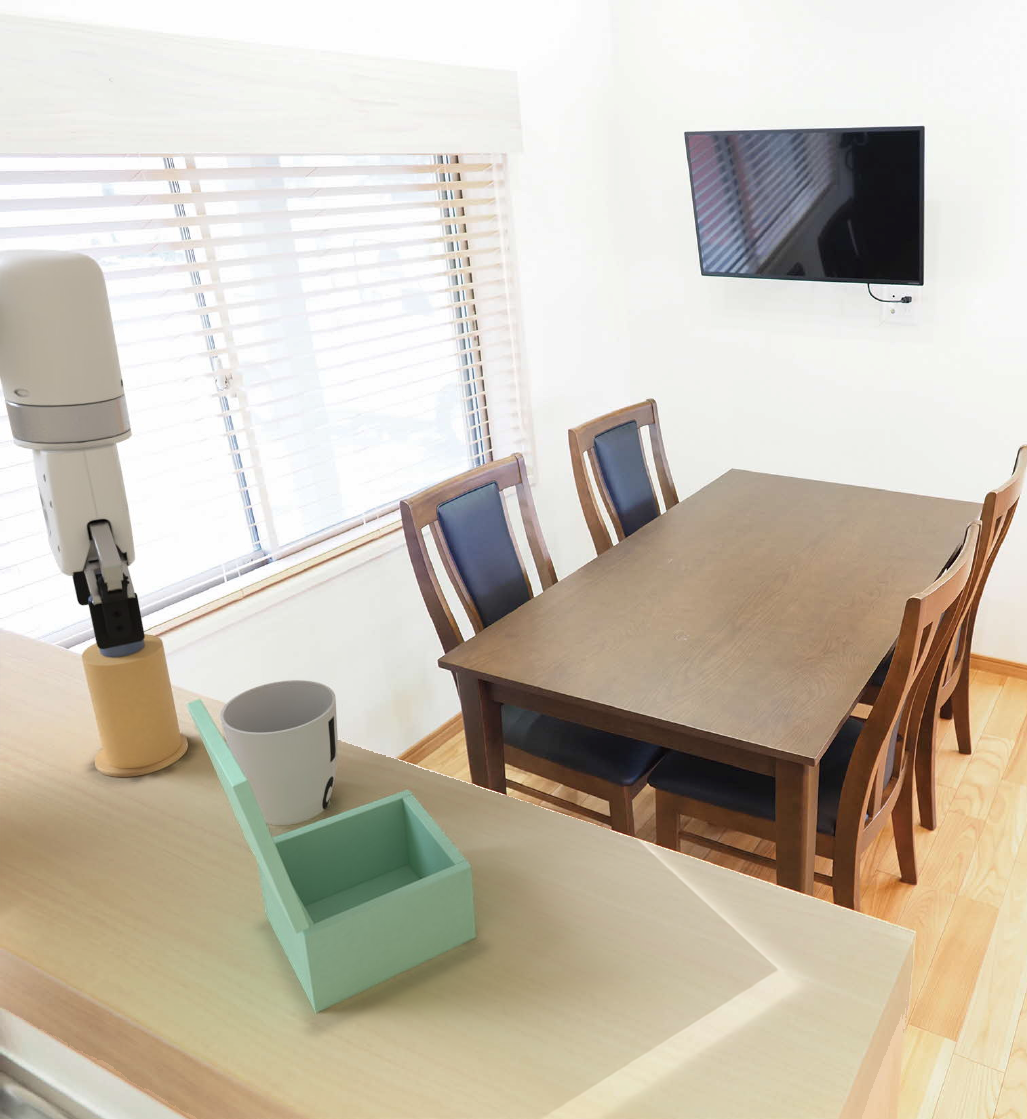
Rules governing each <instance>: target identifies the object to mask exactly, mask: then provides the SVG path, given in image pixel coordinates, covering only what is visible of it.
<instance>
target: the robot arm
mask: <svg viewBox="0 0 1027 1119" xmlns="http://www.w3.org/2000/svg"><path fill="white" fill-rule="evenodd" d="M107 289H108V288H107V284H106V280H105V274H104V272H103V270H102V268H101V266H100V265H99V264H98V262H97V261H96V260H95V259H94V258H92V257H90V256H89V255H87V254H84V253H80V252H75V251H67V250H58V249H34V248H33V249H30V248H29V249H26V248H25V249H7V250H5V249H4V250H0V384H1V388H2V393H3V398H4V403H5V407H6V412H7V417H8V421H9V425H10V431H11V435H12V438H13V443H14V445H15V446H17V447H21V448H23V449H28V450H31V452H32V459H33V460H32V461H33V466H34V472H35V478H36V483H37V488H38V489H37V490H38V494H39V499H40V503H41V508H42V512H43V518H44V522H45V528H46V534H47V539H48V545H49V547H50V550H51V553H52V555H53V557H54V559H55V562H56V564H57V567H58V569H59V571H60V572H61V573H63V574H64V575H66V576H68V577H71V578H72V581H73V586H74V590H75V591H74V592H75V595H76V600H77V603H78V605H80V606H88V609H89V614H90V619H91V623H92V628H93V634H94V638H95V643H97V646H98V647H99V648H100V649H107V648H111V647H116V646H121V645H126V644H131V643H135V642H140V641H142V640H143V639H144V638H145V635H144V634H145V630H144V625H143V624H144V623H143V619H142V613H141V608H140V602H139V596H138V594H137V592H135V588H134V585H133V584H134V583H133V580H132V577H131V573H130V570H129V567H130V566H131V565H132V564H133V563H134V562H135V561H136V552H135V551H136V550H135V545H134V537H133V536H134V535H133V529H132V523H131V522H132V521H131V517H130V516H131V515H130V510H129V504H128V499H127V498H128V497H127V493H126V487H125V481H124V476H123V471H122V465H121V460H120V455H119V450H118V445H117V444H118V443H122V442H124V441H126V440H129V439H131V438H130V437H132V436H133V434H132V428H131V421H130V416H129V410H128V406H127V399H126V394H125V388H124V382H123V376H122V370H121V364H120V358H119V353H118V347H117V340H116V336H115V329H114V325H113V324H114V323H113V318H112V311H111V306H110V301H109V296H108V290H107ZM90 596H91V598H92V601H89V597H90Z"/></svg>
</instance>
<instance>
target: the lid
mask: <svg viewBox="0 0 1027 1119" xmlns="http://www.w3.org/2000/svg"><path fill="white" fill-rule="evenodd" d="M186 707H187V710H188V711H189V714H190V716H191V718H192V721H193V723H194V725H195V728H196V729H197V732H198V734H199V736H200V739H201V740H202V742H203V745H204V748H205V750H206V752H207V755H208V757H209V759H210V762H211V764H212V766H213V768H214V770H215V773H216V775H217V777H218V780H219V781H220V784H221V786H222V789H223V791H224V793H225V795H226V797H227V801H228V802H229V804H230V807H231V809H232V812H233V814H234V816H235V818H236V820H237V822H238V825H239V827H240V829H241V832H242V833H243V836H244V838H245V841H246V843H247V845H248V846H249V849H250V850H251V852H252V854H253V857H254V858H255V859H256V863H257V862H258V863H259V865H260V867H261V869H262V871H263V873H264V875H265V877H266V878H267V880H268V882H269V884H270V886H271V888H272V890H273V892H274V894H275V895H276V897H277V899H278V901H279V903H280V905H281V907H282V909H283V910H284V912H285V914H286V916H287V918H288V920H289V922H290V924H291V925H292V927H293V929H294V931H295V933H296V934H298V933H300V932H302V931H303V930H305V929H307V928H308V927H309V924H308V921H307V919H306V917H305V914H304V912H303V909H302V907H301V905H300V902H299V900H298V898H297V895H296V893H295V891H294V888H293V886H292V883H291V881H290V879H289V876H288V874H287V872H286V869H285V867H284V865H283V862H282V860H281V857H280V855H279V853H278V850H277V848H276V846H275V843H274V841H273V836H272V834H271V831H270V829H269V826H268V823H266V822H265V820H264V817H263V815H262V812H261V810H260V808H259V805H258V803H257V801H256V798H255V796H254V793H253V791H252V789H251V786H250V784H249V782H248V780H247V778H246V776H245V774H244V773H243V771H242V769H241V768H240V766H239V764H238V762H237V761H236V759H235V757H234V756H233V754H232V752H231V750H230V749H229V747H228V745H227V741H226V739H225V738H224V736H223V735H222V733H221V731H220V730H219V728H218V726H217V725H216V723H215V721H214V720H213V717H212V716H211V715H210V713H209V711H208V709H207V708H206V705H205V704H204V702H203V700H202V699H201V698H198V699H195V700H193V701H190V702H188V703H187V704H186Z"/></svg>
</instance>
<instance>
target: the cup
mask: <svg viewBox="0 0 1027 1119" xmlns="http://www.w3.org/2000/svg"><path fill="white" fill-rule="evenodd" d="M219 718H220V722H221V725H222V730H223V733H224V737H225V742H226V744H227V745H228V747H229V749H230V750H231V752H232V754H233V756H234V757H235V759H236V761H237V762H238V764H239V766H240V768H241V769H242V771H243V773H244V774H245V776H246V778H247V780H248V782H249V784H250V786H251V789H252V791H253V793H254V796H255V798H256V801H257V803H258V805H259V808H260V810H261V812H262V815H263V817H264V820H265V822H266V824H267V825H271V826H272V825H274V826H290V825H291V826H292V825H296V824H300V823H303V822H306V821H309V820H311V819H313V818H316V817H317V816H318V815H320V814H321V813H323V812H324V811H326V809H327V808H328V806H329V805H330V802H331V799H332V795H333V791H334V788H335V783H336V775H337V762H338V760H337V759H338V748H339V736H338V735H339V734H338V719H337V718H338V717H337V699H336V694H335V691H334V690H333V689H332V688H331V687H329V686H327V685H325V684H323V683H320V682H317V681H312V680H303V679H301V680H300V679H295V680H293V679H291V680H281V681H274V682H270V683H266V684H261V685H259V686H255V687H253V688H250V689H248V690H245V691H243V692H241V693H239V694H238V695H236V696H234V697H233V698H231V699H230V700H229V701H227V703H226V704H225V705H224V706H223V707H222V710H221V711H220V715H219Z"/></svg>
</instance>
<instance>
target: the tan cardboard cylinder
mask: <svg viewBox="0 0 1027 1119" xmlns="http://www.w3.org/2000/svg"><path fill="white" fill-rule="evenodd" d="M89 601H92V598H91V596H90V597H89ZM144 635H145V638H144V639H143V640H142V641H140V642H135V643H131V644H126V645H121V646H116V647H111V648H107V649H100V648H99V647H98V646H97V643H96V642H95V643H93V644H92V645H90V646H88V647H87V648H86V649H85V650H84V651H83V652H82V654H81V661H82V664H83V669H84V673H85V678H86V682H87V687H88V691H89V695H90V699H91V705H92V709H93V712H94V717H95V721H96V722H95V723H96V727H97V730H98V734H99V735H98V736H99V740H100V743H101V744H100V745H101V747H102V748H103V753H104V757H105V761H106V762H107V763H108V764H109V765H111V766H113V767H117V768H139V767H144V766H149V765H152V764H155V763H158V762H160V761H163V760H165V759H167V758H169V757H170V756H172V755H173V754H174V753H176V752H177V751H178V749H179V748H180V746H181V744H182V740H181V735H180V733H181V730H180V726H179V720H178V716H177V715H178V714H177V710H176V709H177V708H176V705H175V699H174V695H173V689H172V684H171V679H170V672H169V667H168V662H167V657H166V652H165V648H164V641H163V640H162V639H161V638H160V637H159V636H156V635H154V634H148V633H144ZM102 748H101V749H102Z"/></svg>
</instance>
